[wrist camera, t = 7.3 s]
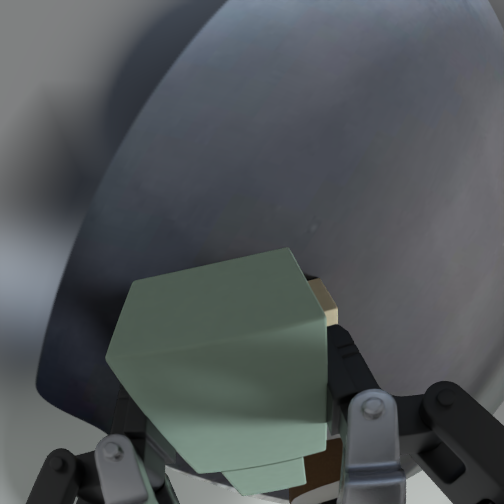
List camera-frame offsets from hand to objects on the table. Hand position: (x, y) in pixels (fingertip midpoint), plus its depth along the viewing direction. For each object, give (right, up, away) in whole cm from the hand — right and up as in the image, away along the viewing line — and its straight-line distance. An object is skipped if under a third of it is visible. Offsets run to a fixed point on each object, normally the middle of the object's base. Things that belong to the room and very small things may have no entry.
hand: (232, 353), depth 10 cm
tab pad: (0, -2, +1) cm, 2 cm away
